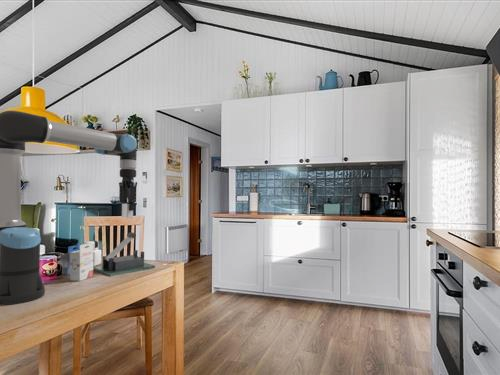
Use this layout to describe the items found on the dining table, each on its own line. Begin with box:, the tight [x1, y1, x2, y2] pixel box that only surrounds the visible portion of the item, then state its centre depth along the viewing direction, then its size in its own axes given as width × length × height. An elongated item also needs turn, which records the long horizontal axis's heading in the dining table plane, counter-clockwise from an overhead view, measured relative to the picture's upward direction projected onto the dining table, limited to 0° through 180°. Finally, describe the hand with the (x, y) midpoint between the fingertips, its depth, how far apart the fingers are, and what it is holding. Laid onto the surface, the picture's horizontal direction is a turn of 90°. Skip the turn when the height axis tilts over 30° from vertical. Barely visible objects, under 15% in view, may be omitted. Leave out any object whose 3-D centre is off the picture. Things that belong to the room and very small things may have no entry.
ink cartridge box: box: [69, 243, 94, 282], centre depth 138 cm, size 9×5×15 cm, turn 168°
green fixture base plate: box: [93, 249, 156, 277], centre depth 156 cm, size 22×18×8 cm
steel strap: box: [104, 231, 137, 261], centre depth 155 cm, size 17×4×2 cm
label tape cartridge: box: [60, 243, 82, 275], centre depth 149 cm, size 9×4×12 cm, turn 171°
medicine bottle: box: [84, 240, 102, 267], centre depth 165 cm, size 7×7×12 cm
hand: (127, 217), depth 157 cm, fingers open, 4 cm apart
